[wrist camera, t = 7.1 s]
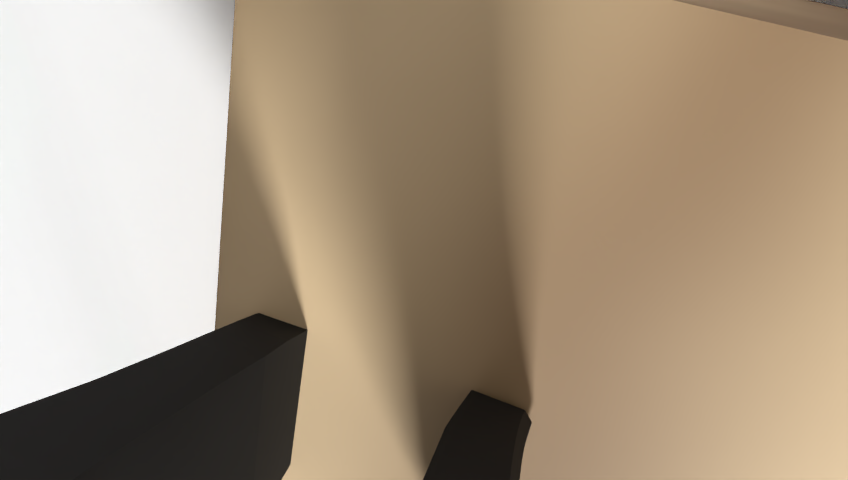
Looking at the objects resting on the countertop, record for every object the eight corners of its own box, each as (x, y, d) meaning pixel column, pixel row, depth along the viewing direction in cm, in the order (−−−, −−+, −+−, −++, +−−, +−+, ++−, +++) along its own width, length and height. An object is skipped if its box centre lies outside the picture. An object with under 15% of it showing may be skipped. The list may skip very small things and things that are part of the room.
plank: (1249, 99, 7) (1421, 173, 6) (788, 754, 12) (807, 894, 11) (323, -109, 9) (241, -100, 7) (252, 553, 14) (195, 649, 12)
